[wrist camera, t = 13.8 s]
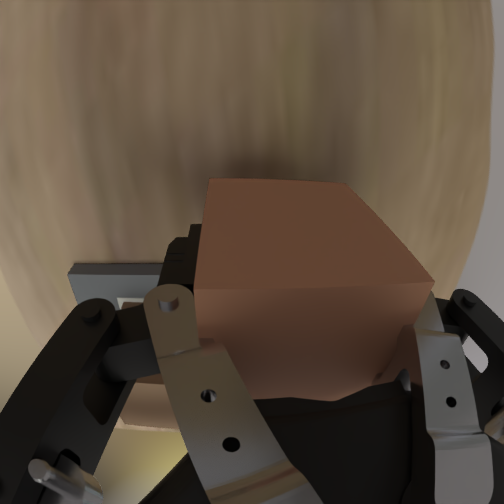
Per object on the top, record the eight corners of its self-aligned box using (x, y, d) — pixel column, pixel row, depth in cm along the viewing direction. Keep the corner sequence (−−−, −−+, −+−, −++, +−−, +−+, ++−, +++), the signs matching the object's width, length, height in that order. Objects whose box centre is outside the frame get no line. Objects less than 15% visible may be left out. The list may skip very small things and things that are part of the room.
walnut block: (123, 301, 17) (97, 378, 12) (201, 303, 18) (196, 385, 12) (138, 353, 20) (124, 423, 15) (206, 355, 20) (205, 429, 15)
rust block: (209, 178, 10) (193, 289, 5) (345, 183, 11) (434, 281, 6) (211, 290, 13) (209, 416, 8) (323, 288, 13) (366, 402, 8)
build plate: (74, 263, 17) (66, 274, 16) (257, 262, 18) (259, 274, 17) (107, 355, 21) (104, 366, 20) (251, 358, 23) (253, 370, 21)
